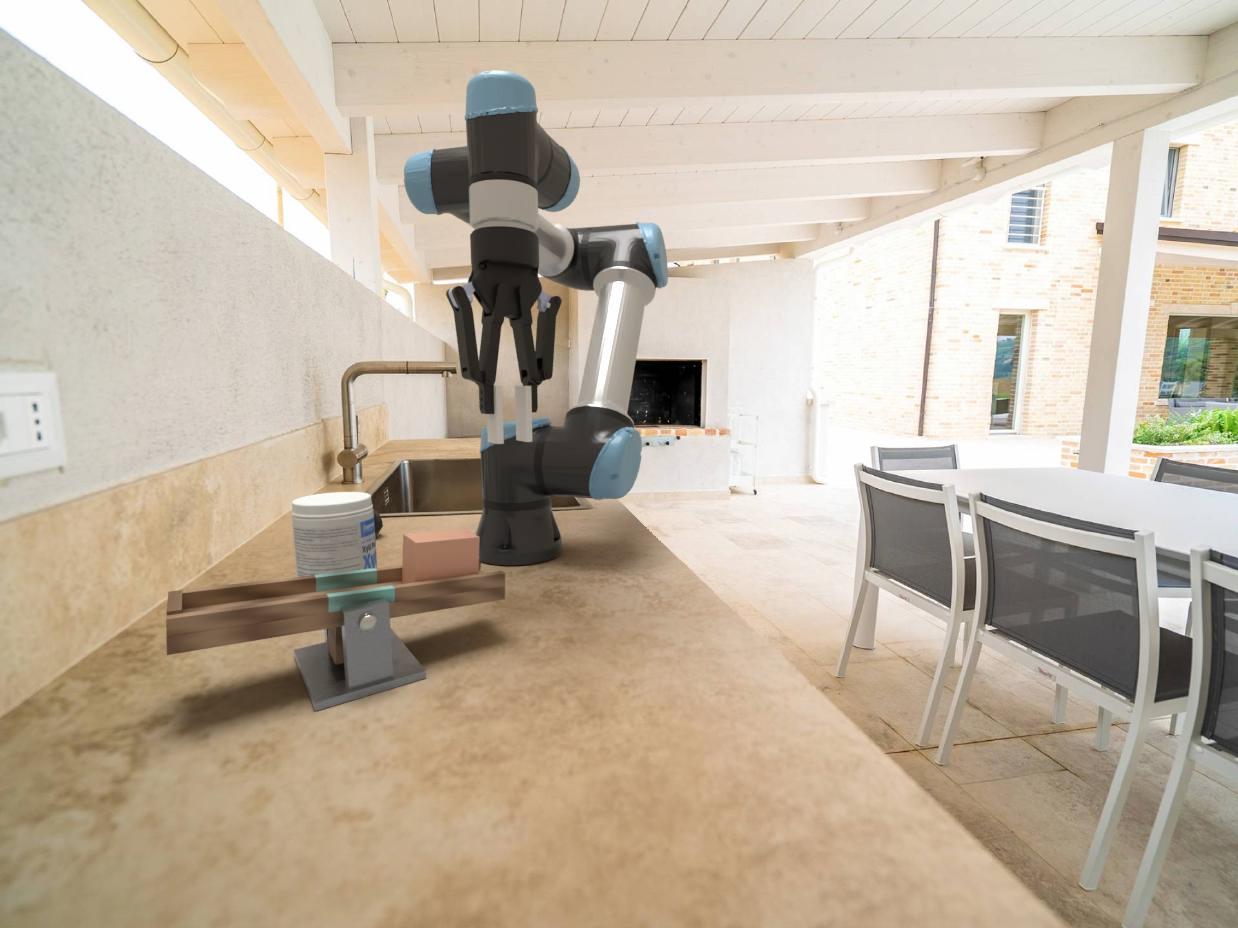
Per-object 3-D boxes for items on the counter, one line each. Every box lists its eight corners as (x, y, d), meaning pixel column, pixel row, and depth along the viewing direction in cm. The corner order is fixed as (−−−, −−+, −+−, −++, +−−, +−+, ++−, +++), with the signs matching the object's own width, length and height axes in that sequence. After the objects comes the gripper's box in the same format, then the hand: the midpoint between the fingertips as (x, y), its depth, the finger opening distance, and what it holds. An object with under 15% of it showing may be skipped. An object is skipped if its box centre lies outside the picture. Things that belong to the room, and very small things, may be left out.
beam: (475, 615, 72) (477, 553, 71) (503, 638, 66) (505, 570, 65) (170, 669, 54) (168, 588, 53) (167, 708, 48) (166, 616, 47)
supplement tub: (386, 610, 75) (379, 499, 73) (303, 627, 70) (294, 508, 68) (371, 588, 83) (365, 488, 81) (296, 602, 78) (287, 495, 76)
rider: (462, 574, 68) (464, 528, 68) (477, 585, 65) (479, 536, 64) (402, 582, 64) (403, 533, 64) (414, 594, 61) (415, 542, 60)
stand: (389, 632, 68) (385, 564, 67) (426, 678, 58) (422, 598, 57) (294, 656, 63) (287, 581, 61) (315, 711, 52) (308, 623, 51)
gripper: (550, 248, 72) (553, 435, 75) (421, 228, 63) (431, 443, 66) (583, 236, 66) (585, 440, 69) (445, 211, 57) (455, 449, 60)
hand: (510, 441), depth 68 cm, fingers open, 3 cm apart
